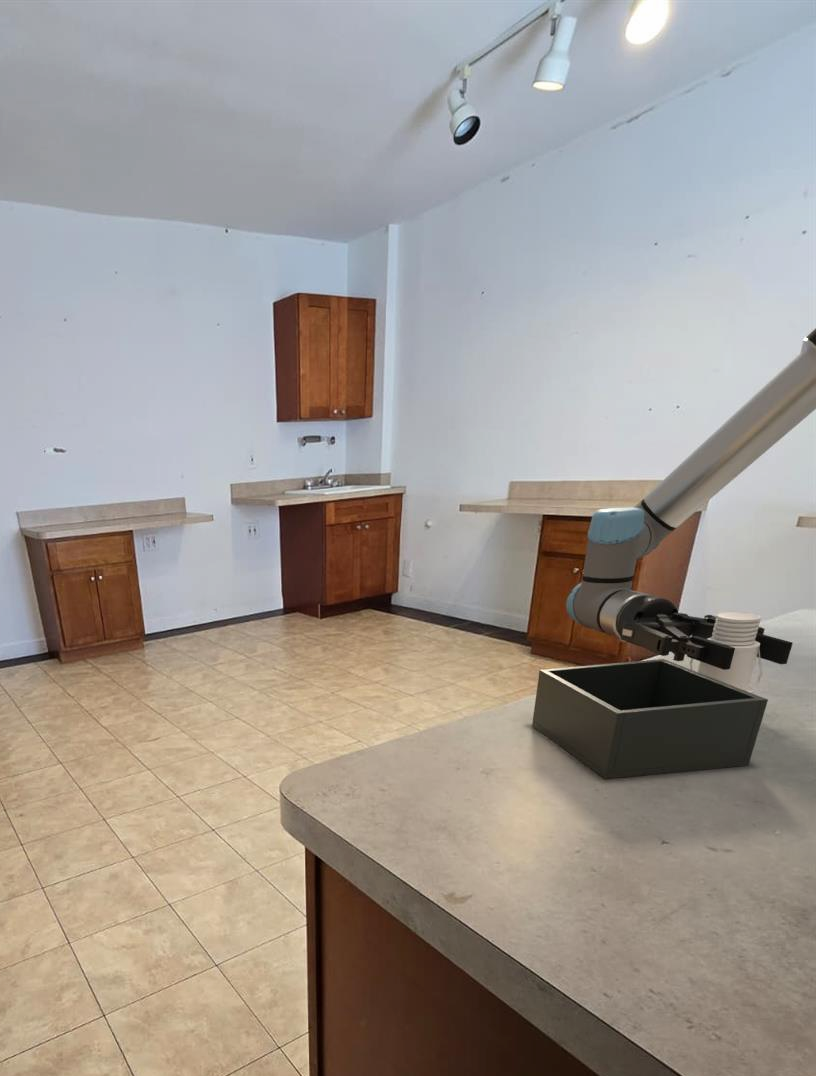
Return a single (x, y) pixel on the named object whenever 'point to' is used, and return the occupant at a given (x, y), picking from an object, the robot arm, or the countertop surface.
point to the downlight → (736, 649)
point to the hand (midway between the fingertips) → (757, 656)
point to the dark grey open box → (647, 718)
